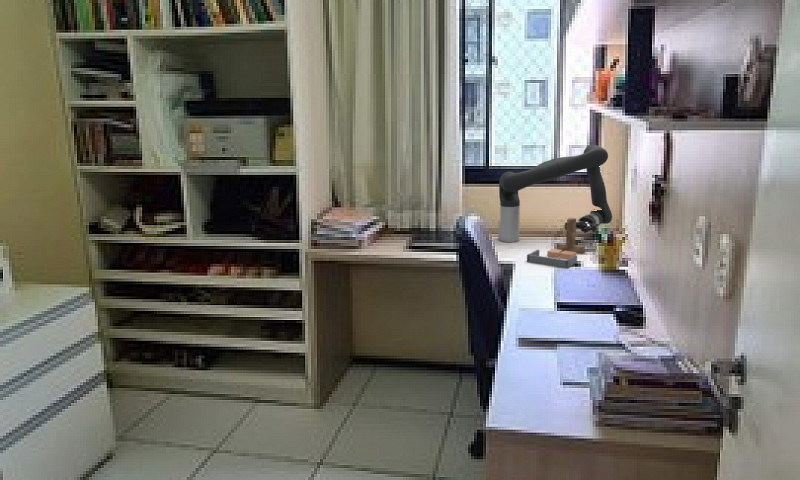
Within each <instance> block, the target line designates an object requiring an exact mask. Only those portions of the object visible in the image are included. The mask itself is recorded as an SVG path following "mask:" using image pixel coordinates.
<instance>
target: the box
mask: <svg viewBox="0 0 800 480" xmlns="http://www.w3.org/2000/svg"><path fill="white" fill-rule="evenodd" d="M526 262H528V263H533V264H539V265H544V266H545V265H546V266H552V267H558V268H564V269H568V268H570V267H572V266H573V265H575V264H577V262H578V255H577V254H576V255H574V256H573V257H571V258H569V259H563V258H556V257H549V256H540V249H535V250H534V251H532V252H530V253H528V254H526Z"/></svg>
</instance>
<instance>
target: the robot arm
mask: <svg viewBox="0 0 800 480" xmlns="http://www.w3.org/2000/svg"><path fill="white" fill-rule="evenodd" d="M608 153H609V152H608V151H607V150H606V149H605V148H603V147H602V146H599V145H596V144H590V145H587V146H586V147H585V148H584V150H583V153H581V154H578V155H571V156H561V157H557V158H551V159H550V160H546V161H543V162H541V163H539V164H538V165H536V166H534V167H533V168H531V169H528V170H525V171H521V172H513V171H506V172H504V173H502V174H501V175H500V177H499V180H498V181H499V182H498V183H499V184H498V185H499V186H498V189H499V190H498V191H499V202H500V204H499V205H500V208H499V209H500V210H499V211H500V212H499V215H500V219H499V221H498V225H497V226H498V230H497V231H498V233H497V235H498V237H497V240H498V241H502V242H505V243H514V242H519V241H520V213H521V212H520V211H521V210H520V207H521V206H520V205H521V204H520V203H521V201H520V197H519V191H520V190H524V189H525V188H528V187H531V186H533V185H537V184H540V183H544V182H548V181H552V180H555V179H558V178H561V177H564V176H568V175H571V174H574V173H576V172H579V171H582V170H586V171H587V175H588V180H589V187H590V199H591V204H592V205H593V206H594V207H596V208H599V209H602V210H597V211H592V210H591V211H590V213H589V214H585V215H583V216H582V217H580V218H579V219H578V221H576V231H577V230H579V231H581V232H583V233H584V234H586V233H591V232H593V233H595V232H597V231H598V230H599V226H601V224H602V225H603V224H606V225H607V224H610V223H611V222H612V219H613V213H612V210H611V208H610V205H609V202H608V200H607V190H606V185H605V182H604V178H603V176H602V171H601V166H603V165H604V164H605V163H606V162H607V161H608V158H609V154H608ZM599 166H600V167H599ZM600 171H601V172H600ZM564 229H565V231H566V232H567V221H566V222H565V223H564ZM597 229H598V230H597Z"/></svg>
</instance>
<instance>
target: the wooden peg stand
mask: <svg viewBox="0 0 800 480" xmlns="http://www.w3.org/2000/svg"><path fill="white" fill-rule="evenodd" d="M566 222H567V231H566V236H565V237H566V239H565V243H564V242H557V243H556V245H555V246H556V247H555V249H558V250H562V252H563V251H571V252H576V254H579V255H583V254H584V253H586V252H585V251H586V245H579V244H576V233H577V230H576V222H577V218H573V217H569V218H567V219H566Z"/></svg>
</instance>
